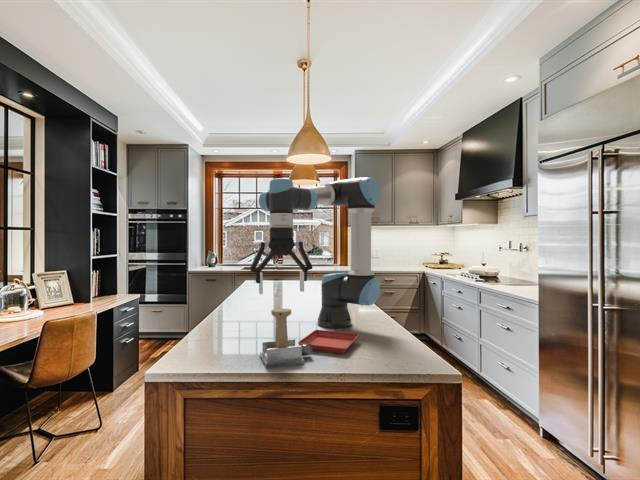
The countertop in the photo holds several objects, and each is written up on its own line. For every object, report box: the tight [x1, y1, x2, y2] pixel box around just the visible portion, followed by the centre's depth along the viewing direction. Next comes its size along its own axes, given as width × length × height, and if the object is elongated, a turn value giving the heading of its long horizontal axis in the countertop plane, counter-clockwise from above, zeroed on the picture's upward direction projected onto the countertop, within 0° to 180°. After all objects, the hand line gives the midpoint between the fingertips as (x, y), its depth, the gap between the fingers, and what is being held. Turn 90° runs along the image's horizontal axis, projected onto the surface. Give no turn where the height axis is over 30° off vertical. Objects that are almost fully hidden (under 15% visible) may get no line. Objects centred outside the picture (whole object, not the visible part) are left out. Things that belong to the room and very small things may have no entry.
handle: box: [270, 308, 292, 348], centre depth 120 cm, size 5×6×15 cm
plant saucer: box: [297, 329, 360, 355], centre depth 135 cm, size 18×18×3 cm
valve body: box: [259, 338, 313, 369], centre depth 121 cm, size 16×12×5 cm
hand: (281, 292), depth 120 cm, fingers open, 13 cm apart
